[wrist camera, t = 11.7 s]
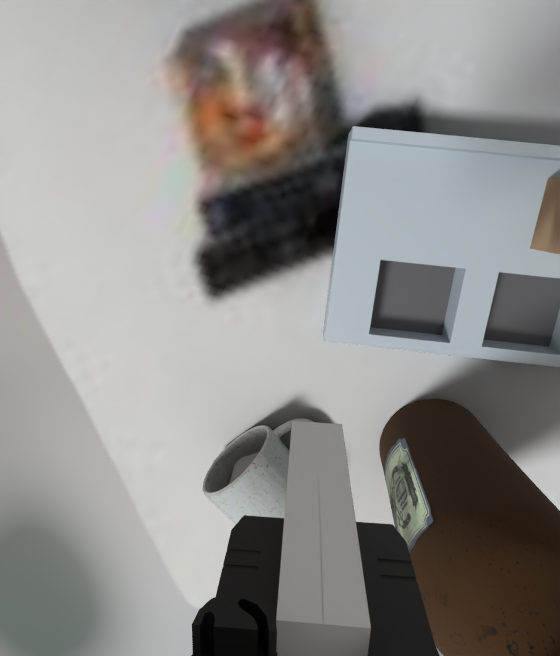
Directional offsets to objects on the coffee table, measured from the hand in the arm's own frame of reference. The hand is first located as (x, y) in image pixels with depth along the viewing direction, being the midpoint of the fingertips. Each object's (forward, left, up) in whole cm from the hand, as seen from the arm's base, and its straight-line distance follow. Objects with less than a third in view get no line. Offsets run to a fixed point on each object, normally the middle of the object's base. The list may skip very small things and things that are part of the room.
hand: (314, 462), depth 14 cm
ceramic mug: (+15, -1, -25) cm, 30 cm away
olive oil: (+12, +12, -25) cm, 31 cm away
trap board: (-5, +12, -25) cm, 28 cm away
